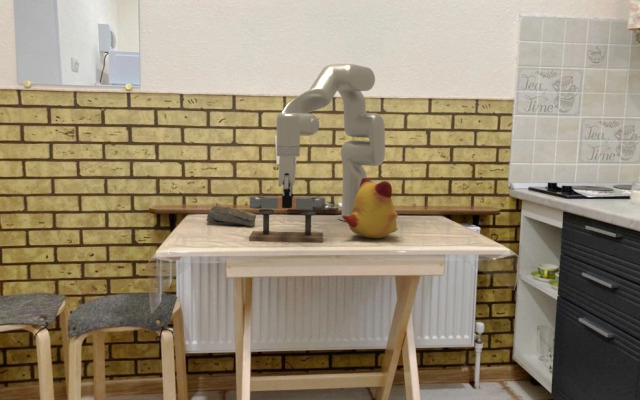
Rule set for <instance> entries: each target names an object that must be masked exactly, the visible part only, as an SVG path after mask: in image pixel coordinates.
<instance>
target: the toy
mask: <svg viewBox="0 0 640 400" xmlns="http://www.w3.org/2000/svg"><path fill="white" fill-rule="evenodd" d="M392 194H393V187H392V185H391V183H390V182H389V181H386V180H383V181H380V182H378V183H375V182H373V181H372V180H371V179H369V178H368V177H367V178H363V179H362V180H361V183H360V187H359V191H358V193H357V196H356V198H355V202H354V206H353V210H352V213H351V216H345V215H343V216H342V217H343V218H344V220H345V221H344V222H346V223H347V224H348V227H349V229H350V231H352V232H353V233H354V234H356V235H359V236H362V237H365V238H368V239H381V238H385V237H387V236H389V235H390V234H392V233H395V232H397V231H398V230H399V229H398V227H397V218H398V216H399V215H398V213H397V211H396V210H395V206H394V203H393V200H392Z"/></svg>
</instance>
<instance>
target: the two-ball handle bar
mask: <svg viewBox="0 0 640 400" xmlns="http://www.w3.org/2000/svg"><path fill="white" fill-rule="evenodd" d="M282 196H283V195H278V196H267V195H266V196H264V195H251V196H249V208H250V209H254V210H255V209H256V210H257V209H258V210H260V209H272V210H274V209H275V210H314V211H323V210H326V198H325V197H323V196H322V197H318V196H315V197H314V196H313V197H311V196H310V197H309V196H295V195H293V196H292V208H282Z"/></svg>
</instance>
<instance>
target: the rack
mask: <svg viewBox="0 0 640 400" xmlns="http://www.w3.org/2000/svg"><path fill="white" fill-rule="evenodd" d="M274 211H275V210H274V209H258V214H259V215H262V230H252V232H251V233H250V234H249V238H248V239H249V242H278V241H279V242H280V241H281V243H283V242H286V243H290V242H291V243H322V242H324V232H319V231H318V232H316V231H315V232H312V216H315V215H317V210H310V209H301V210H300V215H301V216H305V217H304V231H277V230H275V231H270V215H273V214H275V213H274Z"/></svg>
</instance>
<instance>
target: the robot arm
mask: <svg viewBox="0 0 640 400" xmlns="http://www.w3.org/2000/svg"><path fill="white" fill-rule="evenodd" d="M375 82H376V77H375V73H374V71H373V70H372V69H371V68H369V67H368V66H362V65H358V64H354V63H341V64H340V63H338V64H337V63H335V64H328V65H326V66H325V67H323V69H321V71H320V73H319V74H318V75H317V78H316V79H315V81H314V82H313V83H312V85H311V86H310V87H309V89H308V90H306V91H304V92H303V93H301V94H300V95H298V96H296V97H294V98H293V99H292V100H290V101H289V102H288V103H287V104H286V105H285V106H284V108H283V110H282V111H281V113H279V114H278V115H277V117H276V157H279V159H278V160H279V161H278V183H277V185H278V187H279V188H280V187H282V195H281V196H282V208H292V196H294V194H293V187H294V185H295V182H296V171H297V170H296V168H297V164H296V161H297V158H298V157H300V156H301V155H300V150H301V148H300V146H301V145H300V143H301V142H300V140H301V139H300V138H301V136H302V137H303V136H304V137H309V136H313V135H315V134H316V133H317V132H318V130H319V129H320V121H319V118H318V117H317V116H316V115H315V114H312V113H310V112H315V111H318V110H320V109H323V108H326V107H327V106H328V105H329V104H331V101H332V100H333V98H334V96H335V95H336V93H337V92H338V93H339V95H340V97H341V99H342V104H343V126H344V127H343V128H344V132H345V133H344V134H345V135H347V137H351V138H365V139H369V140H357V139H356V140H354V139H353V140H348V141H345V142H344V143H343V144H342V146H341V147H340V148H341V149H340V157H341V163H342V197H341V198H342V199H341V201H342V202H341V214H339V215H337V220H339V221H341V222H342V221H343V222H346V221H345V220H344V218H343V217H342V216H343V215H345V216H351V213H352V210H353V206H354V202H355V198H356V196H357V193H358V191H359V187H360V183H361V180H362V179H363V178H367V179H368V176H367V173H366V170H365V168H364V166H371V167H373V166H374V167H376V166H377V167H378V166H381V164H382V163H383V162H384V160H385V155H386V139H385V137H386V136H385V135H386V131H385V130H386V128H385V122H384V118H383V117H382V115H380V114H379V113H376V112H367V110H366V98H365V96H364V94H363V93H362V92H366V91H367V92H368V91H371V90H372V88H373V87H374V85H375V84H376V83H375Z"/></svg>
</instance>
